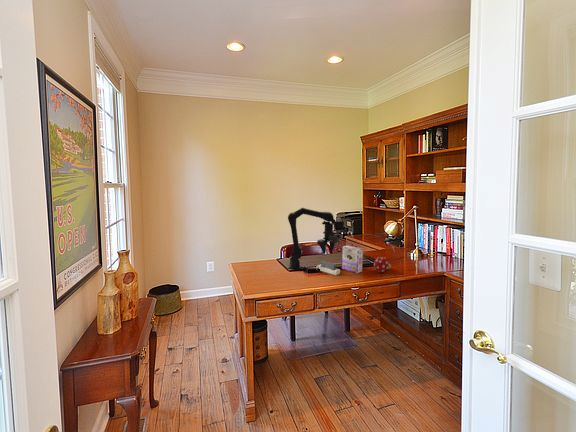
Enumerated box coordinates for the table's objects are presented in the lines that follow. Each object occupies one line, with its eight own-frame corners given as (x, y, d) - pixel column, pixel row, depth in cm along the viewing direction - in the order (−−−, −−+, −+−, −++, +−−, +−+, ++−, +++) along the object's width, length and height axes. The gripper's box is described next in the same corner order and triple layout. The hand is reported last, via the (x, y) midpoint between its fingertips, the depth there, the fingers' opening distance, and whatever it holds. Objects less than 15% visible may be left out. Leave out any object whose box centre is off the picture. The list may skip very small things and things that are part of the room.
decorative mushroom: (390, 255, 230) (378, 252, 221) (399, 267, 223) (388, 264, 213) (379, 266, 234) (367, 262, 225) (388, 277, 227) (376, 275, 217)
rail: (316, 270, 225) (316, 266, 224) (321, 268, 228) (321, 264, 228) (335, 275, 214) (336, 271, 214) (340, 273, 218) (340, 269, 217)
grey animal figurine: (320, 269, 224) (320, 261, 223) (322, 268, 226) (323, 260, 225) (333, 273, 217) (334, 265, 216) (336, 272, 219) (336, 264, 218)
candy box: (362, 271, 222) (363, 248, 219) (357, 273, 218) (358, 250, 215) (346, 267, 232) (347, 244, 229) (341, 268, 228) (342, 246, 225)
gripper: (330, 234, 211) (329, 257, 213) (346, 230, 224) (345, 251, 227) (316, 232, 218) (316, 254, 221) (332, 227, 232) (332, 248, 234)
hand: (328, 252), depth 226 cm, fingers open, 9 cm apart
